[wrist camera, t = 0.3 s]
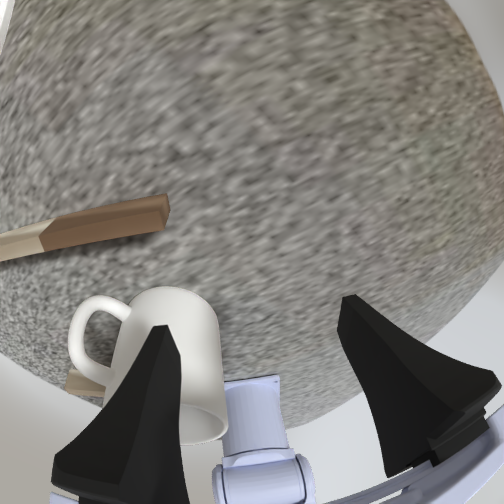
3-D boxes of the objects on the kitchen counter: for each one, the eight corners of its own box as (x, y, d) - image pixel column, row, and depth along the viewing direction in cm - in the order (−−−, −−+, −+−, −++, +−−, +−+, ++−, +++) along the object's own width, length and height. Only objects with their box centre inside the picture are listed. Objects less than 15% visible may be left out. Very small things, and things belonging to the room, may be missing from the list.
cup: (181, 360, 26) (181, 452, 17) (77, 298, 20) (38, 394, 12) (238, 317, 23) (255, 423, 15) (120, 235, 18) (69, 344, 9)
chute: (213, 370, 27) (215, 394, 25) (74, 374, 26) (69, 394, 23) (167, 193, 17) (159, 210, 14) (-9, 237, 16) (-27, 254, 13)
